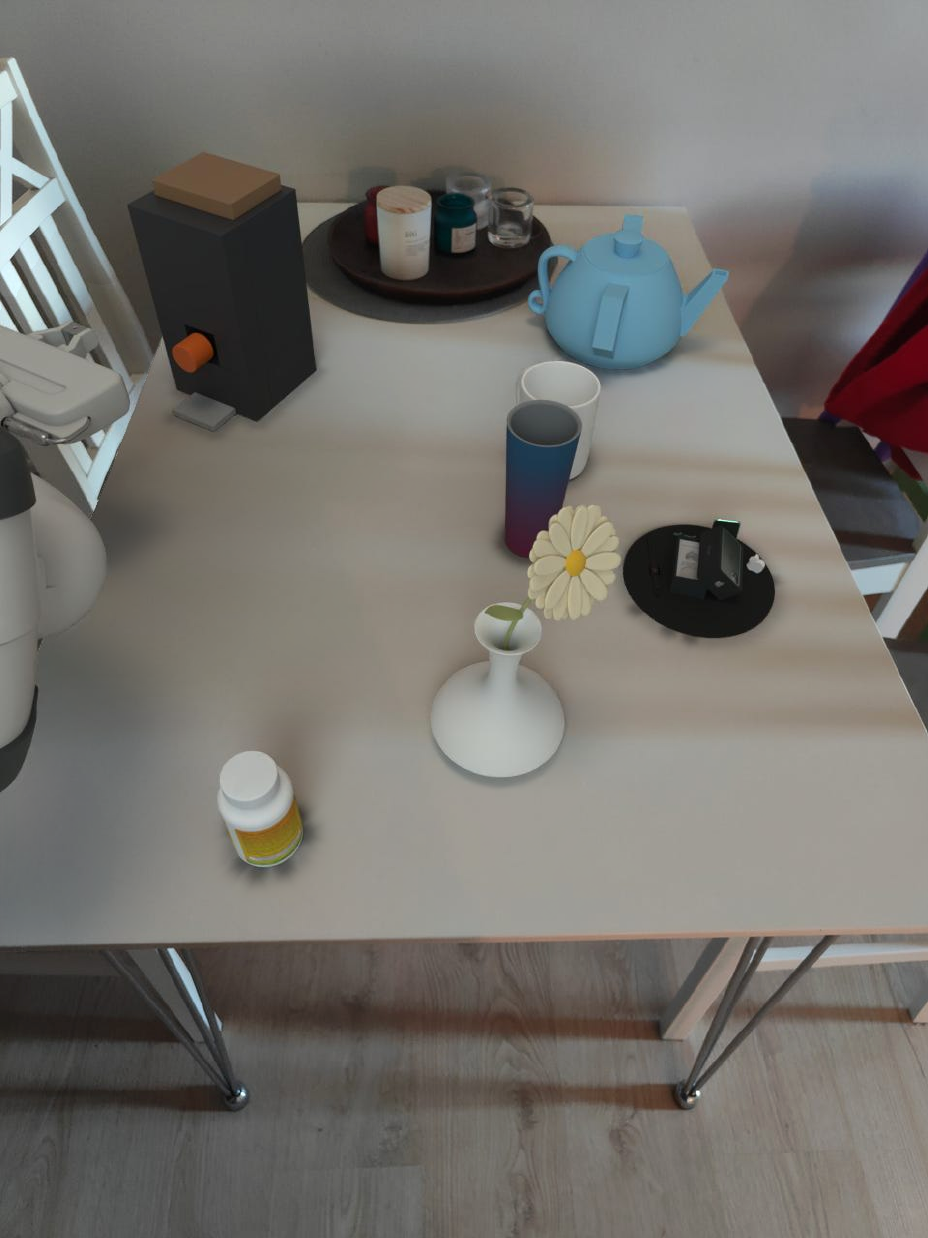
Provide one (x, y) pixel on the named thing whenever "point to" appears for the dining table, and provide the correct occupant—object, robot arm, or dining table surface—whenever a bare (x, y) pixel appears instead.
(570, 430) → the cup
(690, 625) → the black round display stand
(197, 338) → the power button
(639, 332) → the teapot
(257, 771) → the supplement bottle
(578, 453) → the mug
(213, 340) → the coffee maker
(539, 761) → the flower in vase
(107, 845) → the dining table surface
